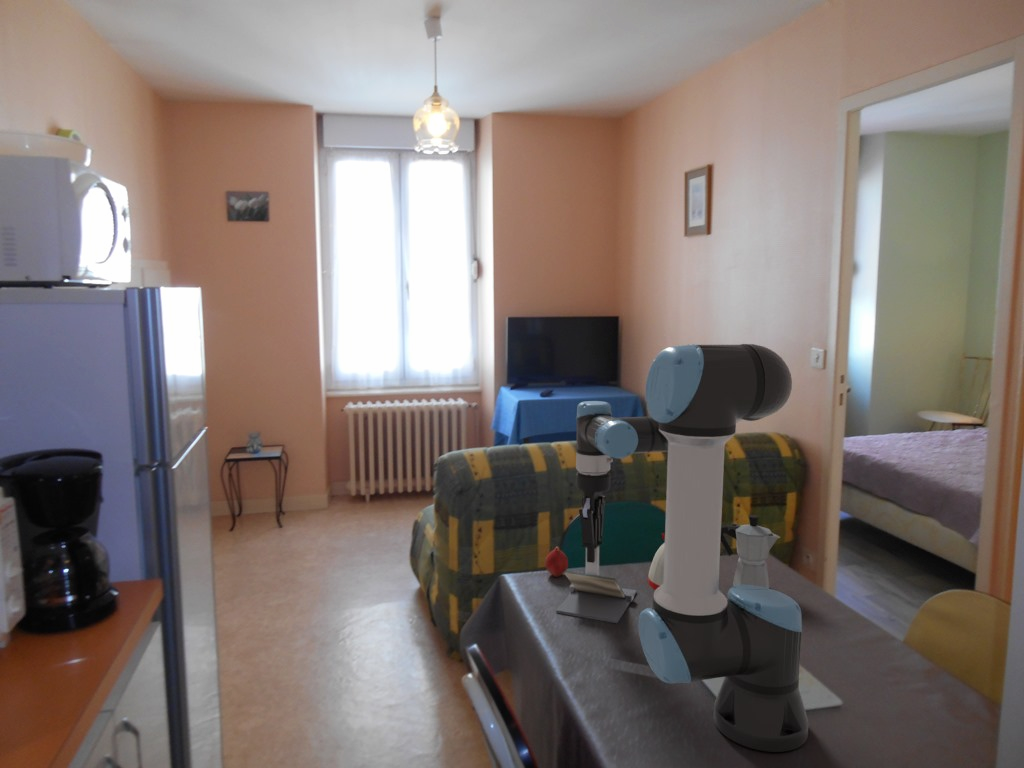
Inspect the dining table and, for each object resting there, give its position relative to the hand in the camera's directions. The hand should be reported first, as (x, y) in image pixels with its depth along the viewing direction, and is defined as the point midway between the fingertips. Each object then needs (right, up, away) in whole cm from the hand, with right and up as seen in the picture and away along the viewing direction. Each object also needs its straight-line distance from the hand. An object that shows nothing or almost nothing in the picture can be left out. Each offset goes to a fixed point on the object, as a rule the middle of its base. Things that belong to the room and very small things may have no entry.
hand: (592, 574), depth 161 cm
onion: (-7, -6, +21) cm, 23 cm away
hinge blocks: (+3, -7, +8) cm, 11 cm away
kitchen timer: (+23, -7, +16) cm, 29 cm away
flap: (+1, -3, +3) cm, 5 cm away
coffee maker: (+39, -7, +15) cm, 43 cm away
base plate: (+2, -8, +5) cm, 10 cm away
